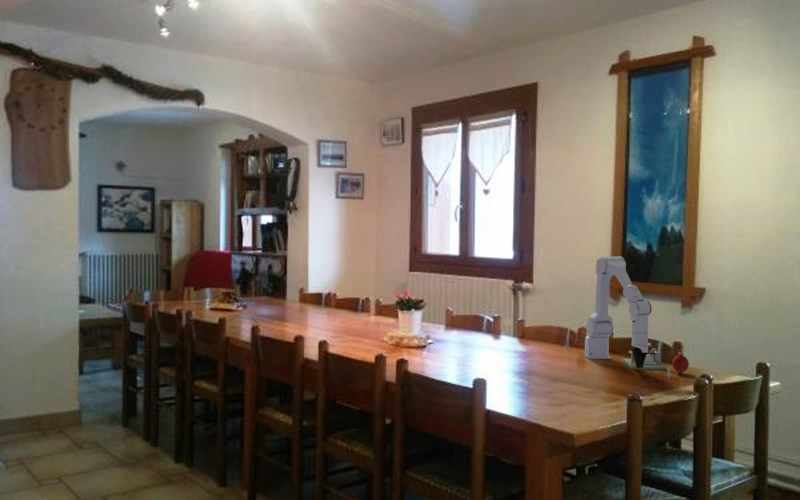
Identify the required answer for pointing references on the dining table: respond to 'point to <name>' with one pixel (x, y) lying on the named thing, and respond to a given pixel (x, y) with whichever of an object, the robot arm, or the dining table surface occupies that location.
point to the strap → (649, 352)
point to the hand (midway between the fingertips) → (639, 367)
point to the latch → (632, 359)
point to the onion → (680, 363)
